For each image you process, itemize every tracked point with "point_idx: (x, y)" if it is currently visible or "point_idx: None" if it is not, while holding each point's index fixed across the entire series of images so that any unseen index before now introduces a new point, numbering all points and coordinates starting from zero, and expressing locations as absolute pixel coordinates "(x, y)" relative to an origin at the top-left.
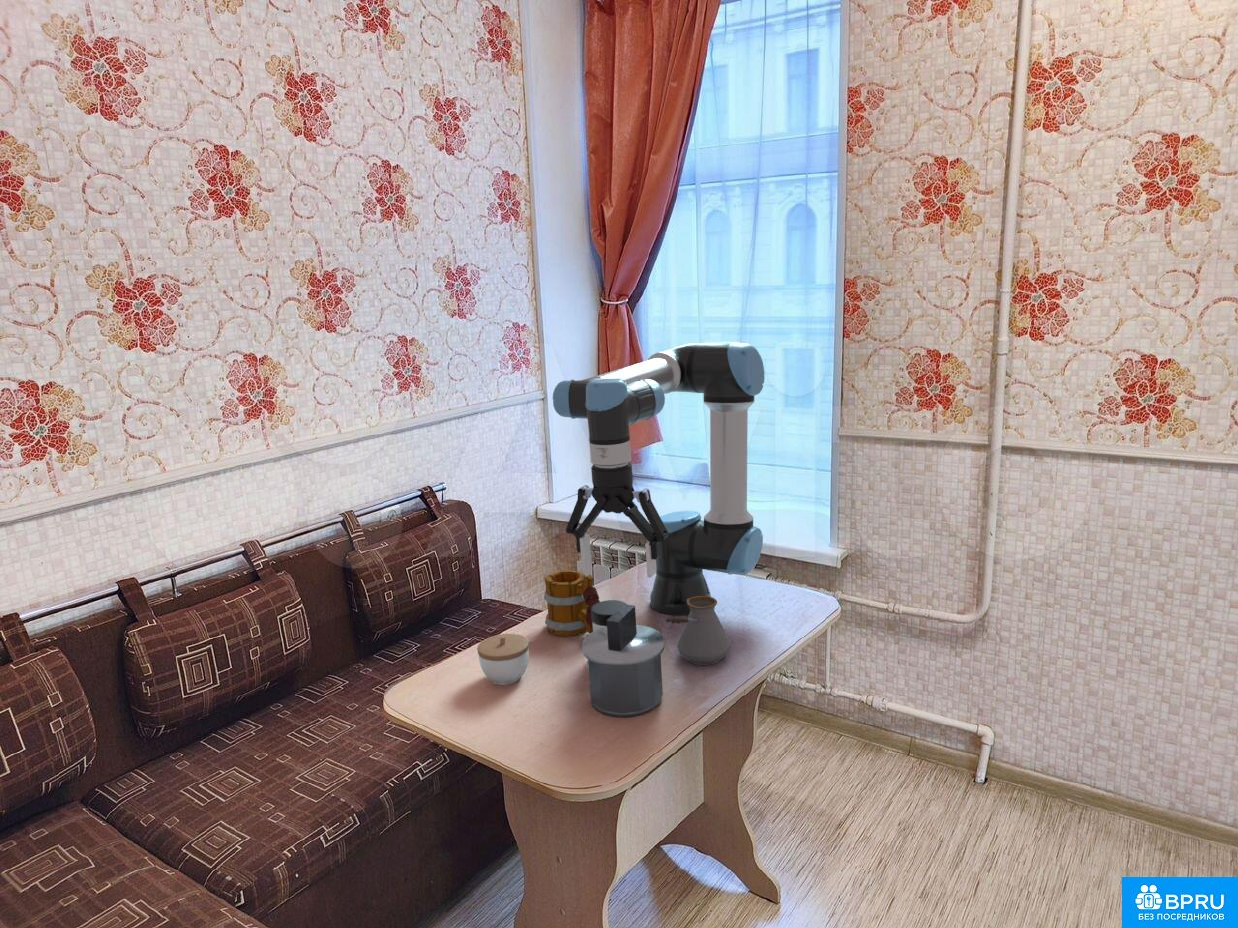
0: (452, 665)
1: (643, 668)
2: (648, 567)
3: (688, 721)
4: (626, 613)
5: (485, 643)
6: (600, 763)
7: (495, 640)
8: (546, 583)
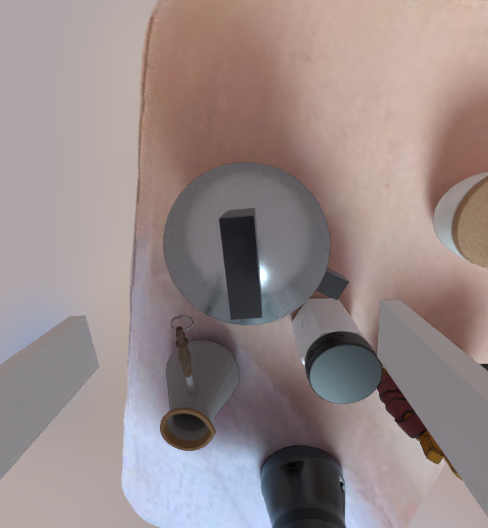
0: None
1: None
2: (44, 339)
3: (144, 208)
4: (227, 273)
5: None
6: (196, 51)
7: None
8: None
